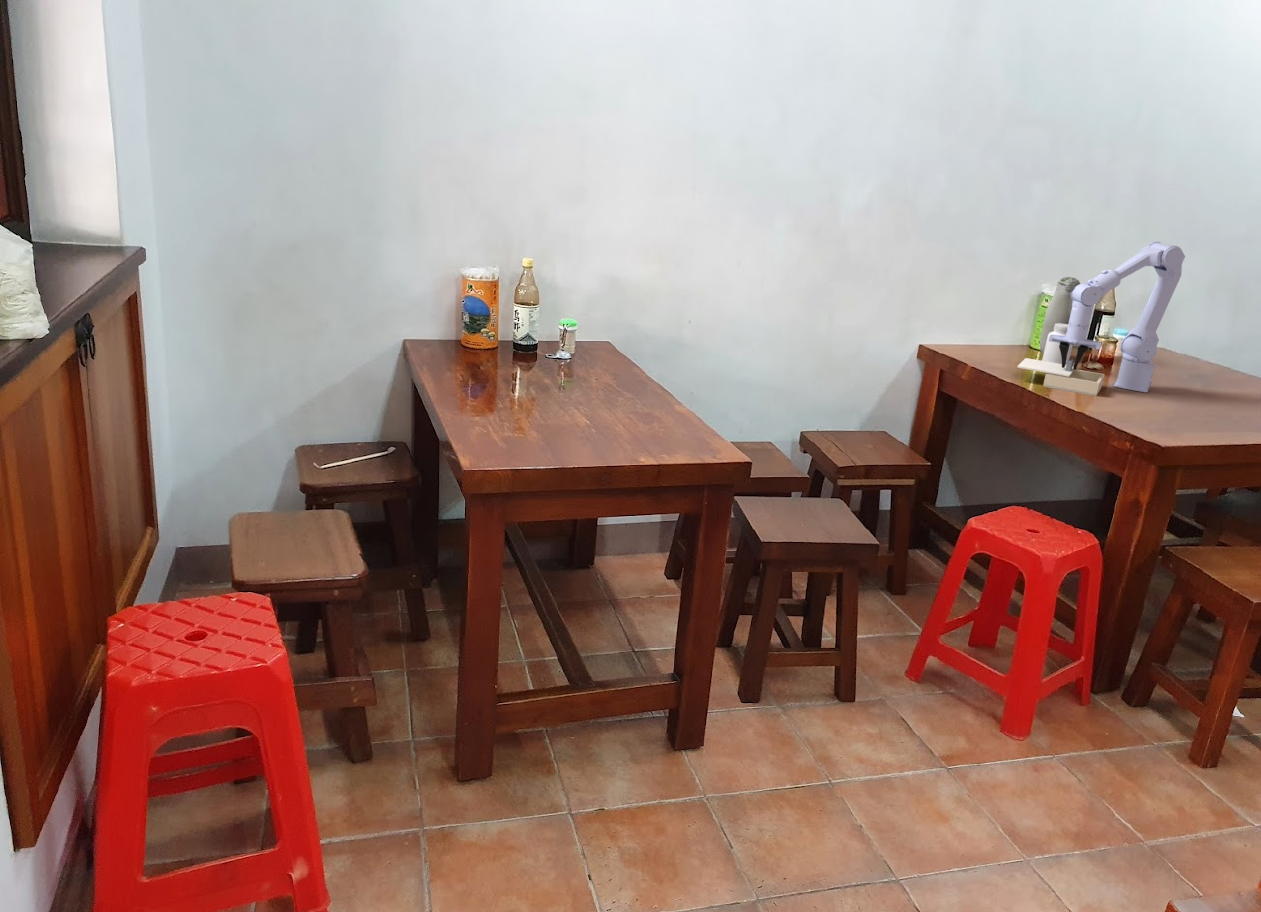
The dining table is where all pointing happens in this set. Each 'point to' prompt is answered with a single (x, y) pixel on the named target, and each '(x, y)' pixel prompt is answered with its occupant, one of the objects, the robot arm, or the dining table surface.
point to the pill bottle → (1056, 346)
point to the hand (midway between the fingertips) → (1068, 368)
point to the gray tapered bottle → (1058, 308)
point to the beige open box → (1076, 382)
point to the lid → (1047, 366)
